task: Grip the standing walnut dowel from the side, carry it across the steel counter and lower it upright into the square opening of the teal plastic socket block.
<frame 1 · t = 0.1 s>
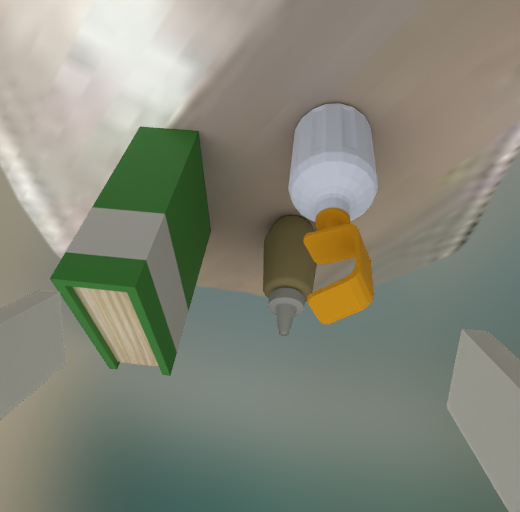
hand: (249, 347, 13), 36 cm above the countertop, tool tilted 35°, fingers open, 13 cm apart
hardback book: (179, 184, 55), on the countertop
squeeze bottle: (292, 227, 59), on the countertop
soap bottle: (331, 136, 46), on the countertop
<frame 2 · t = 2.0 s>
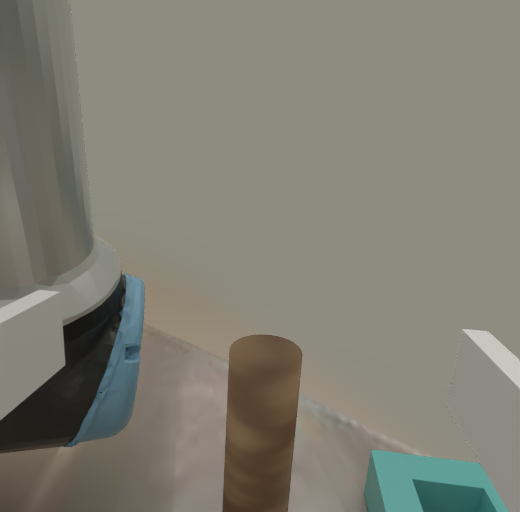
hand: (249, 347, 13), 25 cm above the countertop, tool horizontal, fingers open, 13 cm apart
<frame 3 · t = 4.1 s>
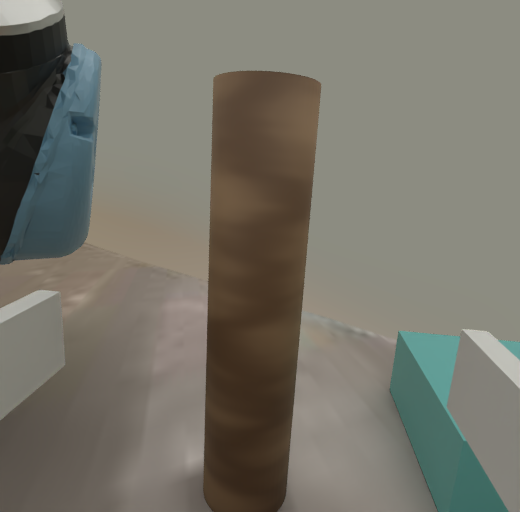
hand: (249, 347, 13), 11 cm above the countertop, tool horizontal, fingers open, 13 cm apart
dowel: (244, 485, 21), on the countertop
socket: (509, 454, 24), on the countertop
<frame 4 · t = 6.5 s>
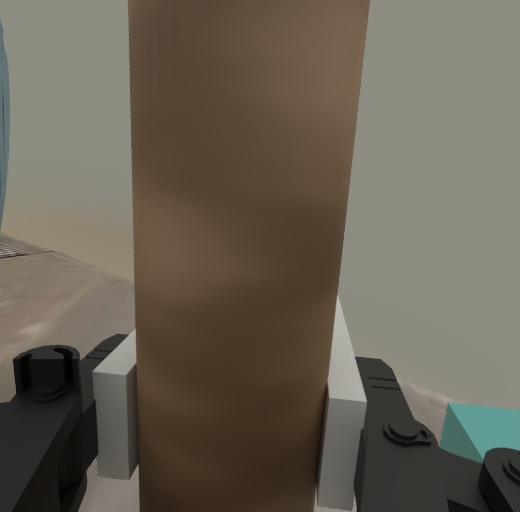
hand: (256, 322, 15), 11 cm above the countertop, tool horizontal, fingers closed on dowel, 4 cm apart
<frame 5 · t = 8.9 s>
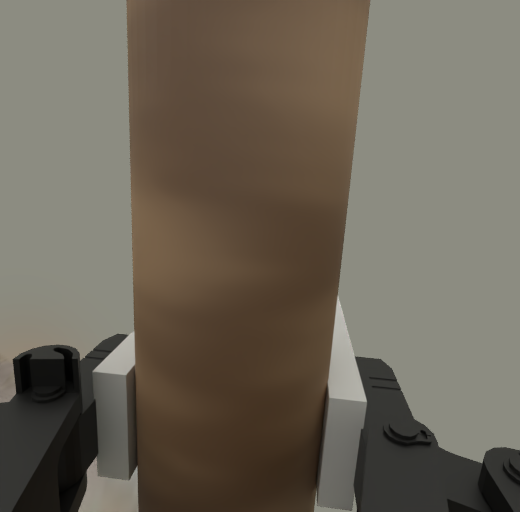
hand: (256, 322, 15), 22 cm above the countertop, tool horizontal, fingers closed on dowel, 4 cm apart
when the fingers open (12 cm above the countertop, at t = 11.2 s): dowel drops 1 cm, resting in socket.
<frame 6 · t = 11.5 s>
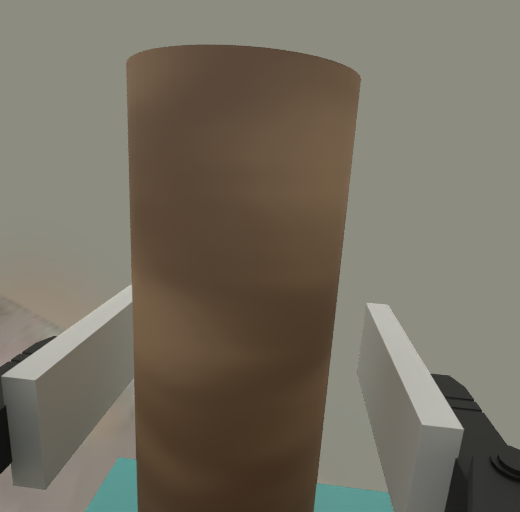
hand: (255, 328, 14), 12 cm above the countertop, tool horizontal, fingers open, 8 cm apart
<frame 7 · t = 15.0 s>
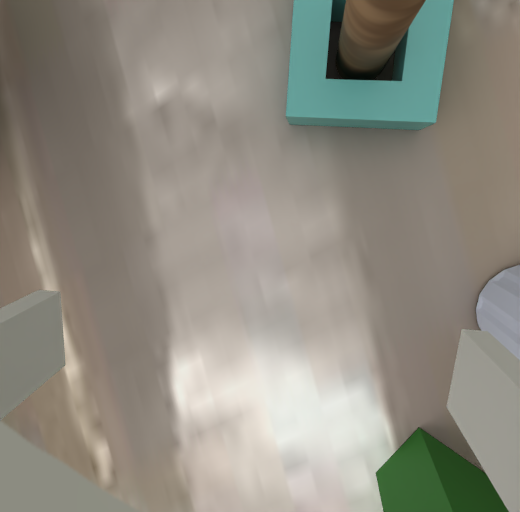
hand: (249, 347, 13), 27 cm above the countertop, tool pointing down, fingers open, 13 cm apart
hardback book: (462, 494, 42), on the countertop
dowel: (360, 59, 35), resting in socket
socket: (360, 58, 35), on the countertop
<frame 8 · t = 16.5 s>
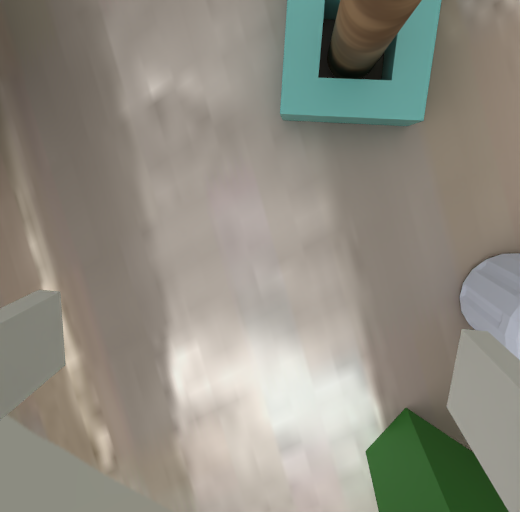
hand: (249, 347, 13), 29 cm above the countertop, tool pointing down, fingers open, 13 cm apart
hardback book: (446, 469, 45), on the countertop
dowel: (351, 57, 36), resting in socket
socket: (351, 55, 36), on the countertop
soap bottle: (503, 294, 40), on the countertop
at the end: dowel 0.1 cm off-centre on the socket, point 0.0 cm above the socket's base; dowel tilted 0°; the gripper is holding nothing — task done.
